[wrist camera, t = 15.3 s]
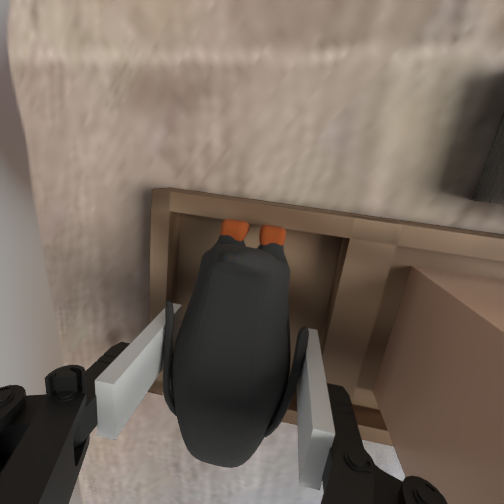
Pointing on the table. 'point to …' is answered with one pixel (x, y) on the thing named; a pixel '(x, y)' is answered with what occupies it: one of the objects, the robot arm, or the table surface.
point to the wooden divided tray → (319, 276)
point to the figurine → (233, 348)
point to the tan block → (447, 384)
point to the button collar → (493, 172)
